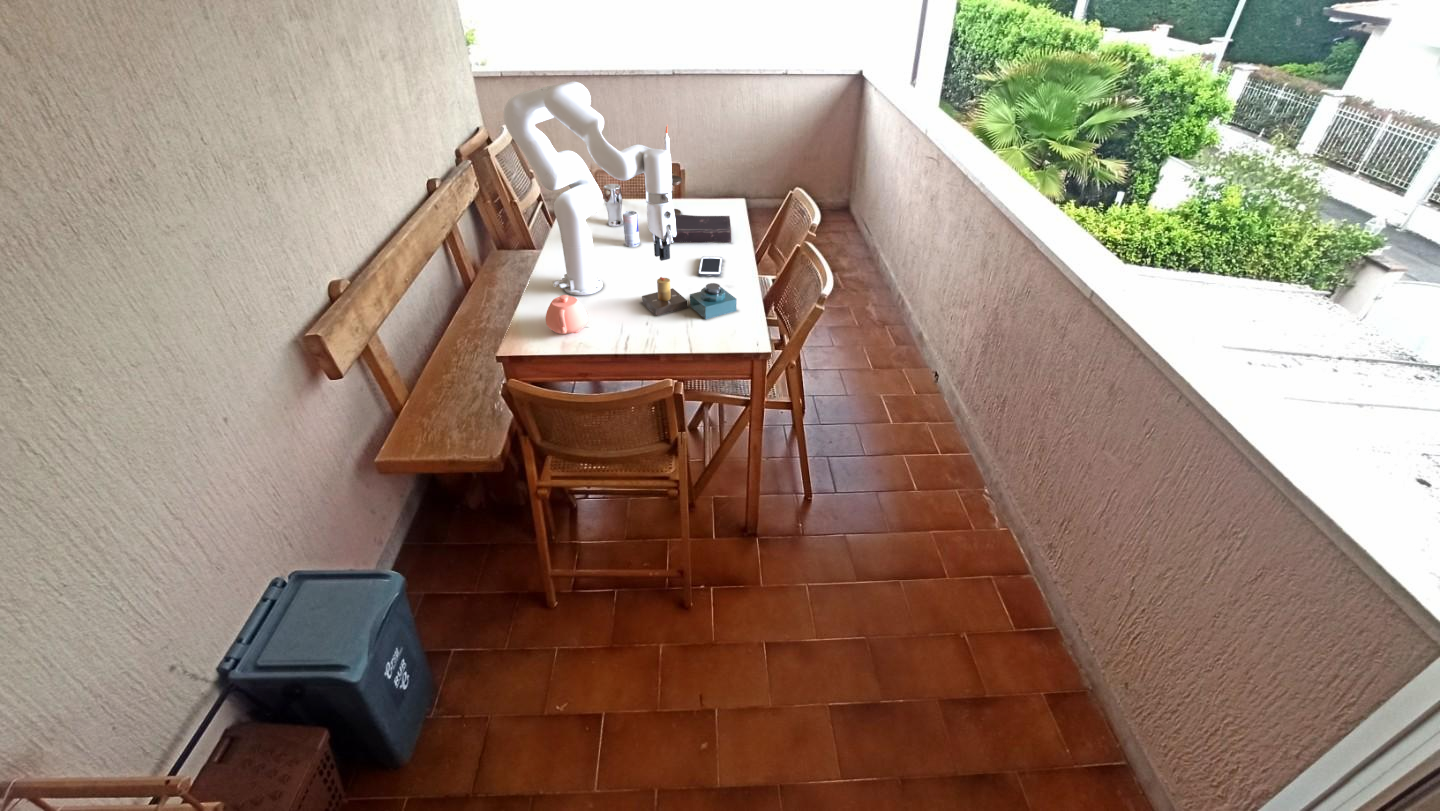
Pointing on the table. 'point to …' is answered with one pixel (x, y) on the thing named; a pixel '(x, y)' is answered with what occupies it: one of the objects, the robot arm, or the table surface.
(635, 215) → the energy drink
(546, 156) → the robot arm
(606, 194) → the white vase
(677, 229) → the diary
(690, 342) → the table surface
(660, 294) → the knob
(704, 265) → the cell phone
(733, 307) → the teal push button box
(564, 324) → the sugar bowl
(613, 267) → the table surface
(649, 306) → the knob panel
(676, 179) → the candlestick
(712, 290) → the dark grey push button
